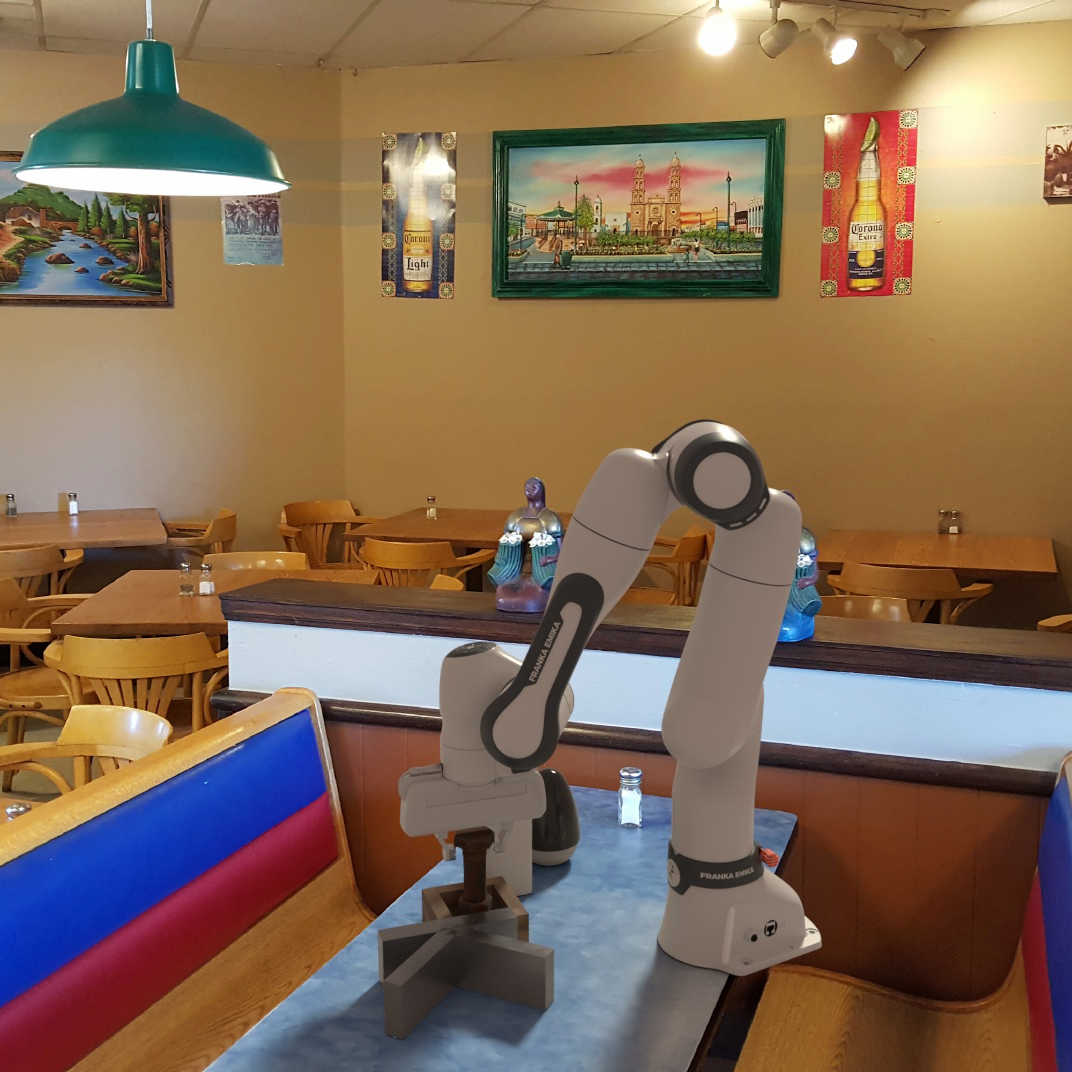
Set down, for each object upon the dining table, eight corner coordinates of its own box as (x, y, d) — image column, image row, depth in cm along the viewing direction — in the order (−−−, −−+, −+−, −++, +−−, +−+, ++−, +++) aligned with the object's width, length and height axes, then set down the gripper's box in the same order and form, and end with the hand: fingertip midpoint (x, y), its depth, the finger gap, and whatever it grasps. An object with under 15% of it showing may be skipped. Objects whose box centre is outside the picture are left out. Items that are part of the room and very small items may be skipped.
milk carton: (473, 881, 174) (471, 764, 171) (516, 874, 177) (515, 758, 174) (487, 902, 168) (486, 780, 164) (532, 894, 170) (532, 774, 167)
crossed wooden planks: (522, 953, 153) (522, 904, 152) (558, 1007, 140) (559, 955, 139) (365, 982, 146) (363, 932, 145) (388, 1043, 133) (386, 988, 132)
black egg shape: (503, 855, 183) (503, 765, 181) (556, 840, 189) (556, 753, 186) (538, 879, 175) (538, 785, 172) (592, 862, 180) (593, 772, 178)
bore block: (502, 907, 166) (501, 875, 165) (528, 947, 155) (528, 913, 154) (422, 921, 162) (421, 889, 161) (444, 963, 151) (443, 928, 150)
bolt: (488, 945, 155) (486, 842, 152) (453, 942, 156) (450, 839, 153) (498, 925, 161) (496, 825, 158) (464, 921, 162) (462, 822, 159)
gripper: (403, 777, 148) (406, 876, 150) (549, 757, 155) (550, 853, 157) (392, 761, 154) (395, 857, 156) (534, 743, 160) (535, 835, 163)
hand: (474, 855), depth 156 cm, fingers closed on bolt, 6 cm apart
